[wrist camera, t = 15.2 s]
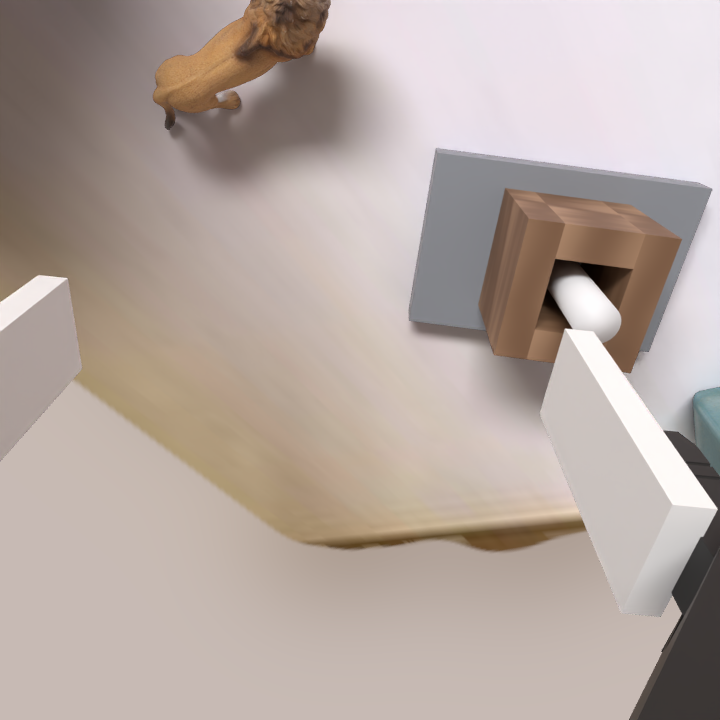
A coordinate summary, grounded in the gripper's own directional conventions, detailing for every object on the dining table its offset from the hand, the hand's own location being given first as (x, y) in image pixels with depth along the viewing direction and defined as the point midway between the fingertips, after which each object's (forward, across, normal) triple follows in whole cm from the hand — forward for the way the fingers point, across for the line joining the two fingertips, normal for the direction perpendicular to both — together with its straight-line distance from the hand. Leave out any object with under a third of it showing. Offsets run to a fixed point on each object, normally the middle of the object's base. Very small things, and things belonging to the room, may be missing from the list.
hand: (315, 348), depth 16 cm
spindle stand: (+28, +14, -5) cm, 31 cm away
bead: (+26, +14, -5) cm, 30 cm away
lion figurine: (+29, -7, +6) cm, 30 cm away
